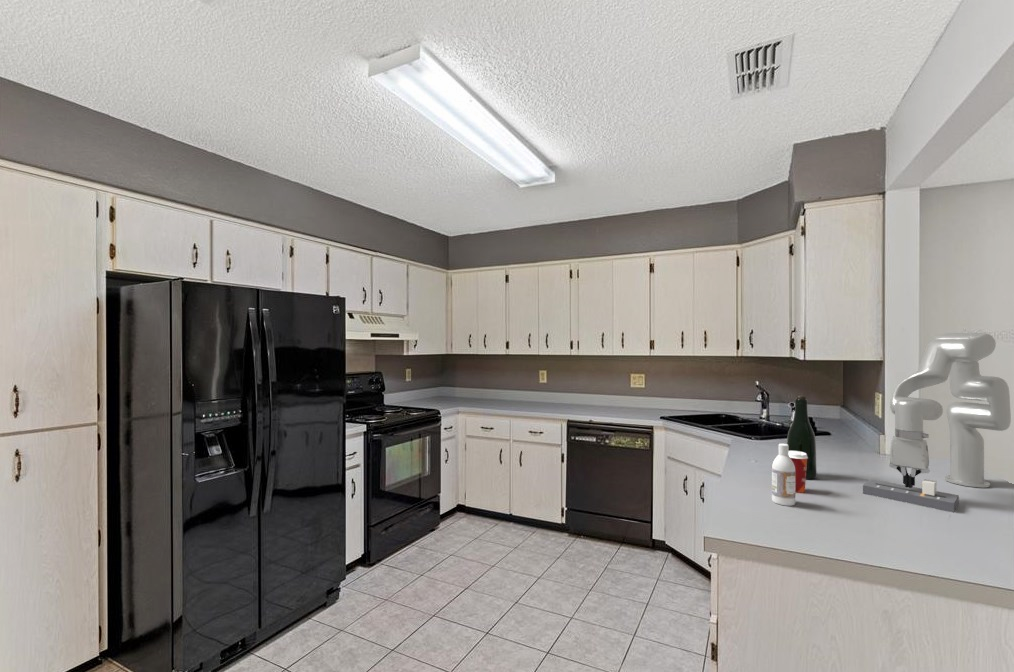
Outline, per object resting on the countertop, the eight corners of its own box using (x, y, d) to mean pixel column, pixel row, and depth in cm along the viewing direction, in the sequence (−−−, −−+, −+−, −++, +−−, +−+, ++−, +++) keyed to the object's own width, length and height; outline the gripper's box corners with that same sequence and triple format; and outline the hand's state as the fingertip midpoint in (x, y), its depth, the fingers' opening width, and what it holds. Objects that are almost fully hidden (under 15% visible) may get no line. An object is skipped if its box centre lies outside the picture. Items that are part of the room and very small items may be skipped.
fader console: (871, 486, 176) (871, 478, 176) (958, 504, 158) (958, 494, 158) (862, 493, 168) (862, 484, 168) (953, 512, 150) (953, 502, 150)
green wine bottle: (799, 471, 196) (799, 393, 197) (822, 478, 186) (822, 396, 187) (780, 473, 193) (780, 394, 193) (803, 481, 183) (803, 397, 183)
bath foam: (783, 507, 154) (783, 447, 155) (767, 500, 161) (767, 442, 161) (800, 505, 156) (800, 446, 156) (783, 498, 163) (783, 441, 163)
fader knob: (924, 490, 162) (924, 479, 162) (936, 492, 160) (936, 481, 160) (922, 493, 159) (922, 481, 159) (934, 495, 156) (934, 483, 156)
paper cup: (811, 494, 167) (811, 455, 167) (788, 493, 169) (788, 454, 169) (802, 487, 175) (802, 450, 175) (780, 486, 176) (780, 449, 176)
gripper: (939, 436, 160) (939, 489, 160) (884, 430, 171) (884, 479, 171) (936, 440, 155) (936, 494, 155) (879, 433, 167) (879, 484, 166)
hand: (908, 486), depth 163 cm, fingers closed
